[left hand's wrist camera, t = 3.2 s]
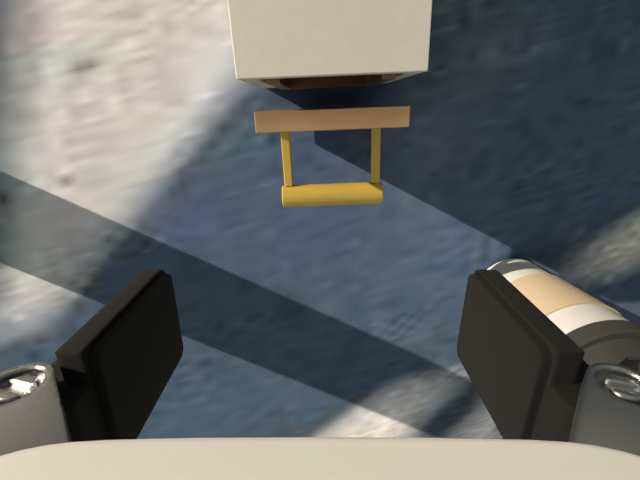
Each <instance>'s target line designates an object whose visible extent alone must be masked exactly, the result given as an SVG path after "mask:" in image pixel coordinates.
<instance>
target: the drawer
mask: <svg viewBox="0 0 640 480" xmlns="http://www.w3.org/2000/svg"><path fill="white" fill-rule="evenodd" d="M393 79H396V74H375V75H351V76H327V77H304V78H280V79H266V81H267V84H268V85H271V86H274V87H276V88H279V89H281V90H297V89H321V88H345V87H369V86H375V85H378V84H381V83H384V82H387V81H390V80H393ZM410 108H411V106H410V105H372V106H348V107H323V108H299V109H275V110H266V111H258V112H254V118H255V129H256V133H278V132H281V144H282V157H283V170H284V184H285V186H282V202H283V206H284V207H300V206H326V205H352V204H378V203H382V202H383V184H382V182H380V148H381V128H401V127H409V126H410ZM352 129H371V182H363V183H338V184H312V185H293V172H292V157H291V142H290V132H302V131H327V130H352Z"/></svg>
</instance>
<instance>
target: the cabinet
mask: <svg viewBox="0 0 640 480" xmlns="http://www.w3.org/2000/svg"><path fill="white" fill-rule="evenodd" d="M228 9H229V18H230V27H231V36H232V45H233V54H234V63H235V72H236V79H238V80H242V81H245V82H248V83H252V84H255V85H258V86H261V87H264V88H276V87H274V86H271V85H268V84H267V81H266V79H280V78H304V77H327V76H351V75H375V74H396V79H393V80H390V81H387V82H384V83H390V82H393V81H396V80H399V79H402V78H406V77H409V76H412V75H416V74H419V73H422V72H426V71H428V62H429V47H430V31H431V15H432V0H228Z"/></svg>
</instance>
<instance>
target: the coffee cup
mask: <svg viewBox="0 0 640 480" xmlns="http://www.w3.org/2000/svg"><path fill="white" fill-rule="evenodd" d="M487 270H497V271H499V272H500V273H501V274H502V275H503V276H504V277H505V278H506V279H507V280H508V281H509V282H510V283H511V284H512V285H514V286H515V287H516V288H517V289H518V290H519V291H520V292H521V293H522V294H523V295H524V296H525V297H526V298H527V299H529V300H530V301H531V302H532V303H533V304H534V305H535V306H536V307H537V308H538V309H539V310H540V311H541V312H542V313H544V314H545V315H546V316H547V317H548V318H549V319H550V320H551V321H552V322H553V323H554V324H555V325H556V326H557V327H559V328H560V329H561V330H562V331H563V332H564V333H565V334H566V335H567V336H568V337H569V338H570V339H571V340H572V341H574V342H575V343H576V344H577V345H578V346H579V347H580V348H581V349H582V350H583V351H584V352H585V354H584V357H583V360H584V361H585V362H586V363H587V364H588V365H589V366H590V365H592V364H595V363H610V364H616V365H620V366H624V367H627V368H630V369H632V370H634V371H637V372H639V373H640V324H638V323H635V322H632V321H629V320H627V319H625V318H624V317H623V316H622V315H621V314H620V313H619V312H618V311H616V310H615V309H613V308H611V307H610V306H608V305H606V304H604V303H603V302H601V301H599V300H598V299H596V298H594V297H592V296H591V295H589V294H587V293H585V292H584V291H582V290H580V289H579V288H577V287H575V286H573V285H572V284H570V283H568V282H567V281H565V280H563V279H561V278H560V277H558V276H555V275H552V274H549V273H548V272H546V271H544V270H543V269H541V268H539V267H538V266H536V265H534V264H532V263H531V262H529V261H527V260H523V259H507V260H503V261H500V262H498V263H496V264H494V265H492V266H491V267H489V268H488V269H487Z"/></svg>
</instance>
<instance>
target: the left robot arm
mask: <svg viewBox="0 0 640 480" xmlns="http://www.w3.org/2000/svg"><path fill="white" fill-rule="evenodd" d="M182 353H183V343H182V337H181V331H180V325H179V319H178V313H177V307H176V301H175V295H174V288H173V282H172V278H171V276H170V275H169V274H166V273H165V271H164V270H143V271H141V272H140V273H139V274H138V275H137V276H136V277H135V278H134V279H133V280H132V281H131V282H130V283H129V284H128V285H126V286H125V287H124V288H123V289H122V290H121V291H120V292H119V293H118V294H117V295H116V296H115V297H114V298H113V299H111V300H110V301H109V302H108V303H107V304H106V305H105V306H104V307H103V308H102V309H101V310H100V311H99V312H98V313H96V314H95V315H94V316H93V317H92V318H91V319H90V320H89V321H88V322H87V323H86V324H85V325H84V326H83V327H81V328H80V329H79V330H78V331H77V332H76V333H75V334H74V335H73V336H72V337H71V338H70V339H69V340H68V341H66V342H65V343H64V344H63V345H62V346H61V347H60V348H59V349H58V350H57V351H56V352H55V354H56V357H57V360H56V361H55V362H54V363H53V364H52V365H51V366H50V365H48V364H45V363H30V364H24V365H20V366H16V367H13V368H10V369H8V370H6V371H3V372H1V373H0V480H640V373H639V372H637V371H634V370H632V369H630V368H627V367H624V366H620V365H616V364H610V363H595V364H592V365H590V366H589V365H588V364H587V363H586V362H585V361H584V360H583V357H584V354H585V352H584V351H583V350H582V349H581V348H580V347H579V346H578V345H577V344H576V343H575V342H574V341H572V340H571V339H570V338H569V337H568V336H567V335H566V334H565V333H564V332H563V331H562V330H561V329H560V328H559V327H557V326H556V325H555V324H554V323H553V322H552V321H551V320H550V319H549V318H548V317H547V316H546V315H545V314H544V313H542V312H541V311H540V310H539V309H538V308H537V307H536V306H535V305H534V304H533V303H532V302H531V301H530V300H529V299H527V298H526V297H525V296H524V295H523V294H522V293H521V292H520V291H519V290H518V289H517V288H516V287H515V286H514V285H512V284H511V283H510V282H509V281H508V280H507V279H506V278H505V277H504V276H503V275H502V274H501V273H500V272H499V271H497V270H476V271H475V273H474V274H471V275H470V276H469V278H468V282H467V288H466V295H465V301H464V307H463V313H462V319H461V325H460V331H459V337H458V343H457V353H458V357H459V359H460V361H461V362H462V364H463V366H464V368H465V370H466V372H467V373H468V375H469V377H470V379H471V381H472V382H473V384H474V386H475V388H476V390H477V392H478V393H479V395H480V397H481V399H482V401H483V402H484V404H485V406H486V408H487V410H488V412H489V413H490V415H491V417H492V419H493V421H494V423H495V424H496V426H497V428H498V430H499V432H500V433H501V435H502V437H503V439H466V438H342V437H298V438H174V439H137V437H138V435H139V433H140V432H141V430H142V428H143V426H144V424H145V423H146V421H147V419H148V417H149V415H150V413H151V412H152V410H153V408H154V406H155V404H156V402H157V401H158V399H159V397H160V395H161V393H162V392H163V390H164V388H165V386H166V384H167V382H168V381H169V379H170V377H171V375H172V373H173V372H174V370H175V368H176V366H177V364H178V362H179V361H180V359H181V357H182Z"/></svg>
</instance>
